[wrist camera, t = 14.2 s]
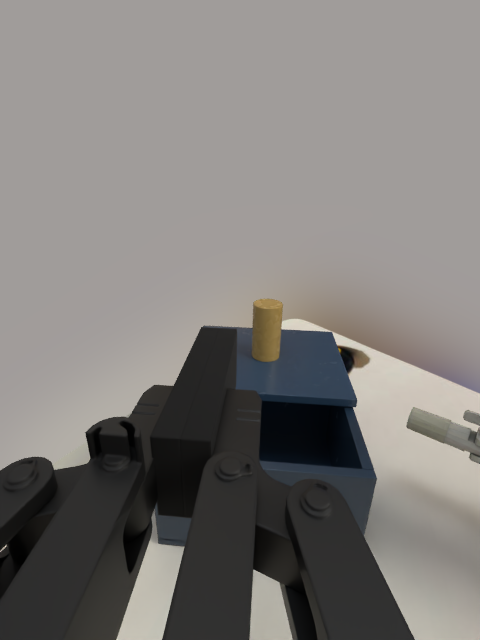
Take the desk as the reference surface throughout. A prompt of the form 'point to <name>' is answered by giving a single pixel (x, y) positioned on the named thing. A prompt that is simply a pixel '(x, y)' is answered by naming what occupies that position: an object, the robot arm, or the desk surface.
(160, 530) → the bin
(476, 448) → the microphone
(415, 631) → the desk surface
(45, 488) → the robot arm
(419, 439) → the desk surface
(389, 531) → the desk surface
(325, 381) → the lid
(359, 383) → the desk surface
